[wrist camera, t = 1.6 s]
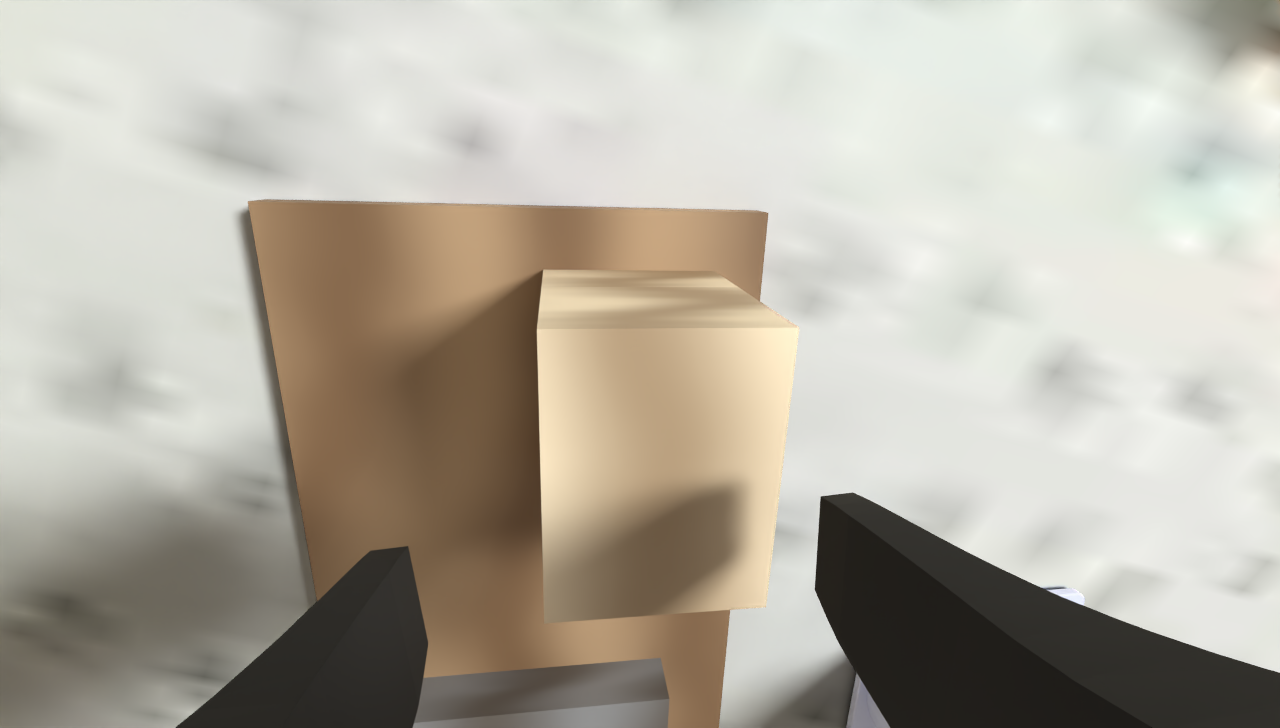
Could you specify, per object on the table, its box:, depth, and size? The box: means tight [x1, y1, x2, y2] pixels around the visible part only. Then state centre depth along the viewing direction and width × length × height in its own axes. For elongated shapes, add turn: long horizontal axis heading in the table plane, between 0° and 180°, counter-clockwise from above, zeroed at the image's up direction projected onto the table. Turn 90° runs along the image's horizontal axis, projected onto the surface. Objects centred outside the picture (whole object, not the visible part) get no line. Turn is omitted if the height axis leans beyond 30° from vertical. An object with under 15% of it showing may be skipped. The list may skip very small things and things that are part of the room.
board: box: [248, 199, 768, 728], centre depth 20 cm, size 14×24×3 cm, turn 178°
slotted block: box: [537, 270, 799, 623], centre depth 15 cm, size 5×7×6 cm
